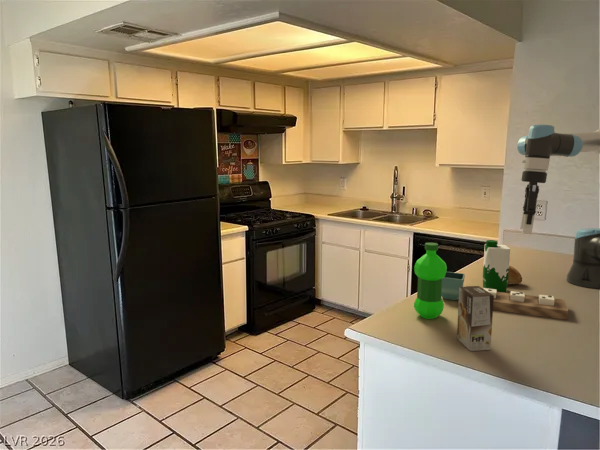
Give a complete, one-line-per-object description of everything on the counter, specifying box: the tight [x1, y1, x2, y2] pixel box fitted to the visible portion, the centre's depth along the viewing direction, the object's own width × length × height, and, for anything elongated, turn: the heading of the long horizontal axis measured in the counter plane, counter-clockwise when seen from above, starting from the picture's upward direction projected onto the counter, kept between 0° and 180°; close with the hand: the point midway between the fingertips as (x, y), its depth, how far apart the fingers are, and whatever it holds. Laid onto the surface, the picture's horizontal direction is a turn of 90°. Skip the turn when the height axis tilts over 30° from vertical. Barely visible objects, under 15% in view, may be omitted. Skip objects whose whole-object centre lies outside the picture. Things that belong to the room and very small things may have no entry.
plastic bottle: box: [413, 242, 448, 320], centre depth 145 cm, size 10×10×25 cm
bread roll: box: [507, 265, 523, 285], centre depth 182 cm, size 10×15×8 cm, turn 59°
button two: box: [538, 294, 555, 306], centre depth 150 cm, size 4×4×4 cm
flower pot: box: [441, 271, 466, 301], centre depth 164 cm, size 9×9×9 cm
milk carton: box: [482, 239, 511, 293], centre depth 172 cm, size 9×9×20 cm
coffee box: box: [456, 285, 494, 352], centre depth 125 cm, size 9×6×16 cm
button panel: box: [493, 292, 569, 320], centre depth 154 cm, size 30×12×3 cm, turn 64°
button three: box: [509, 290, 526, 302], centre depth 154 cm, size 4×4×4 cm
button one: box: [483, 287, 497, 299], centre depth 158 cm, size 4×4×4 cm
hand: (525, 231), depth 152 cm, fingers open, 13 cm apart
